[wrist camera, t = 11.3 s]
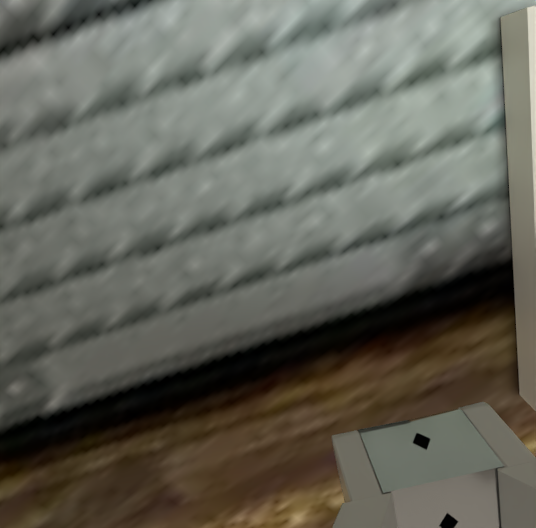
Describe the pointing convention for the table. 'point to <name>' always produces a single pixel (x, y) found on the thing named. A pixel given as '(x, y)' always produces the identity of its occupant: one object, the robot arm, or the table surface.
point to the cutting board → (522, 182)
